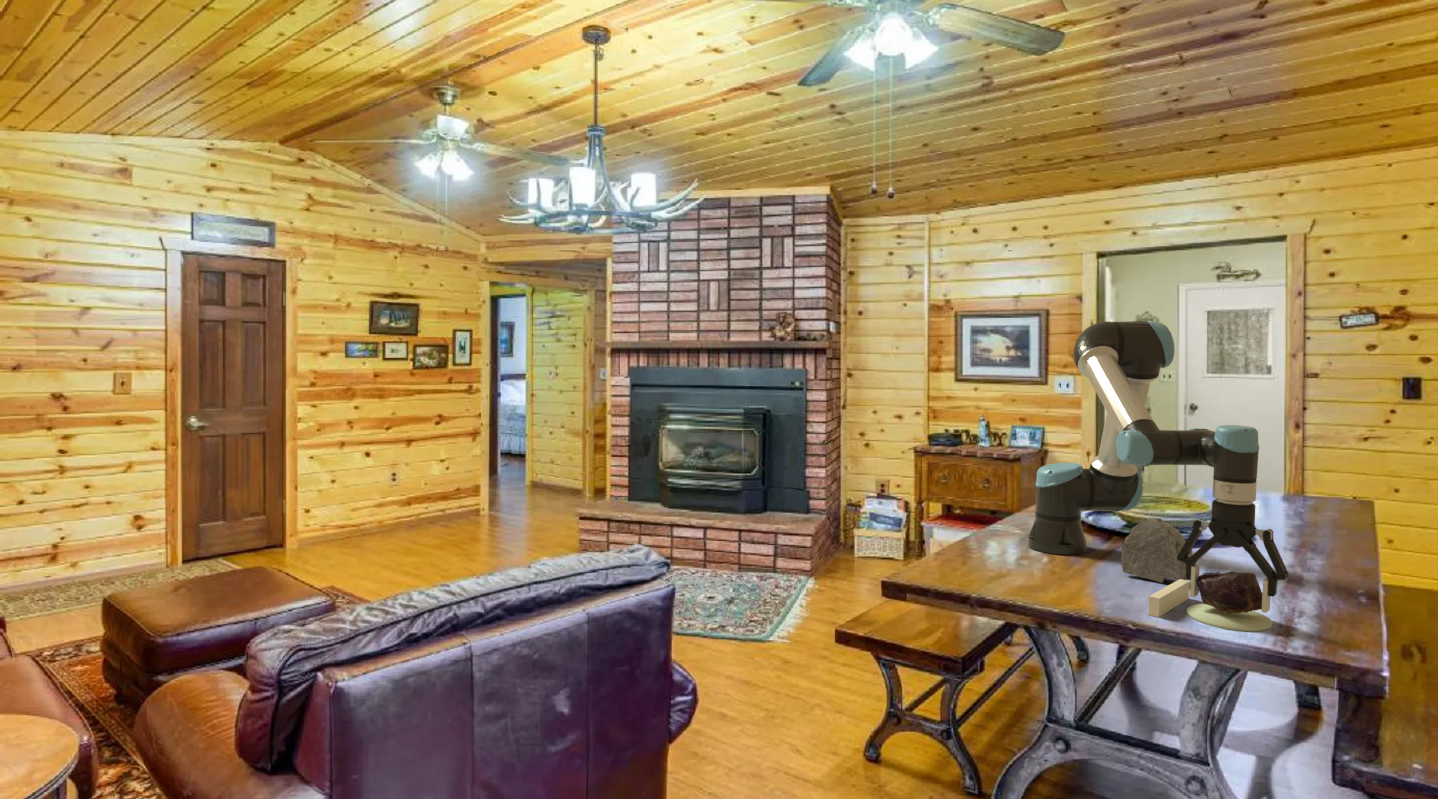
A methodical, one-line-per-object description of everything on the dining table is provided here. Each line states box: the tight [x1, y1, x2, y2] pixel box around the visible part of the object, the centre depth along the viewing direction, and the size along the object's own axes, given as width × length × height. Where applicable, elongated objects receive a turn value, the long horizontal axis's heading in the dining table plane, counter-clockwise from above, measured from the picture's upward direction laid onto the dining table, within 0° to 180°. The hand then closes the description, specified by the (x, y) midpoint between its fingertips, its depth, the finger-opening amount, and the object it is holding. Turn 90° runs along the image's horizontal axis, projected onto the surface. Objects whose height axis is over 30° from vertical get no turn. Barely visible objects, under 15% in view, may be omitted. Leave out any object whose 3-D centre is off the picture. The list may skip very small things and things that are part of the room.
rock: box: [1196, 571, 1263, 613], centre depth 167 cm, size 12×9×10 cm
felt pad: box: [1186, 603, 1273, 632], centre depth 167 cm, size 15×15×1 cm
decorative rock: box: [1120, 517, 1197, 583], centre depth 193 cm, size 16×7×15 cm, turn 43°
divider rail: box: [1147, 579, 1191, 618], centre depth 174 cm, size 2×18×4 cm, turn 132°
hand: (1228, 603), depth 167 cm, fingers open, 12 cm apart
